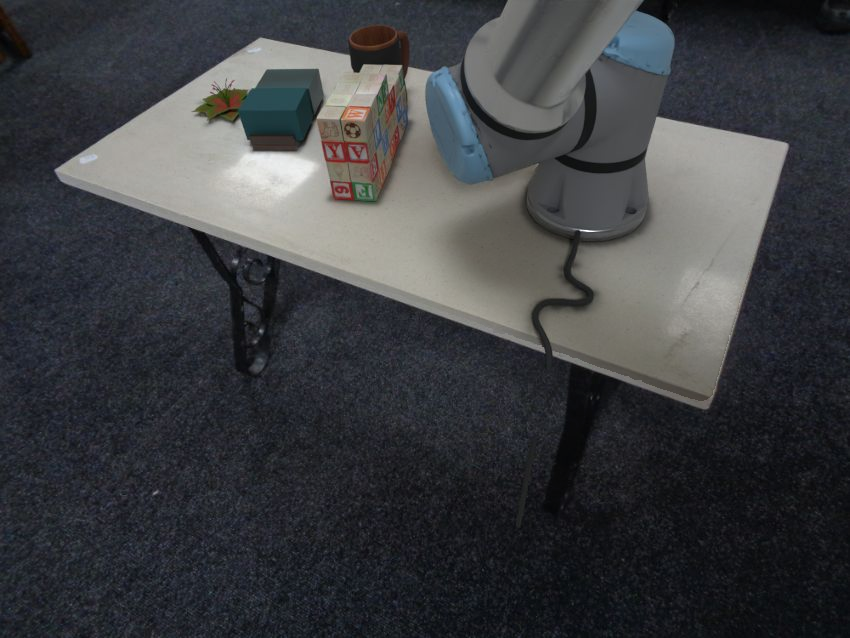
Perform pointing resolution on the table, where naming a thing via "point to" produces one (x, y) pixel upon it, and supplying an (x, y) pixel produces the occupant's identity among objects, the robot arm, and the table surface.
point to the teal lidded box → (287, 80)
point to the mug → (379, 48)
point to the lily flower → (223, 102)
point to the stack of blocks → (363, 130)
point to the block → (276, 112)
